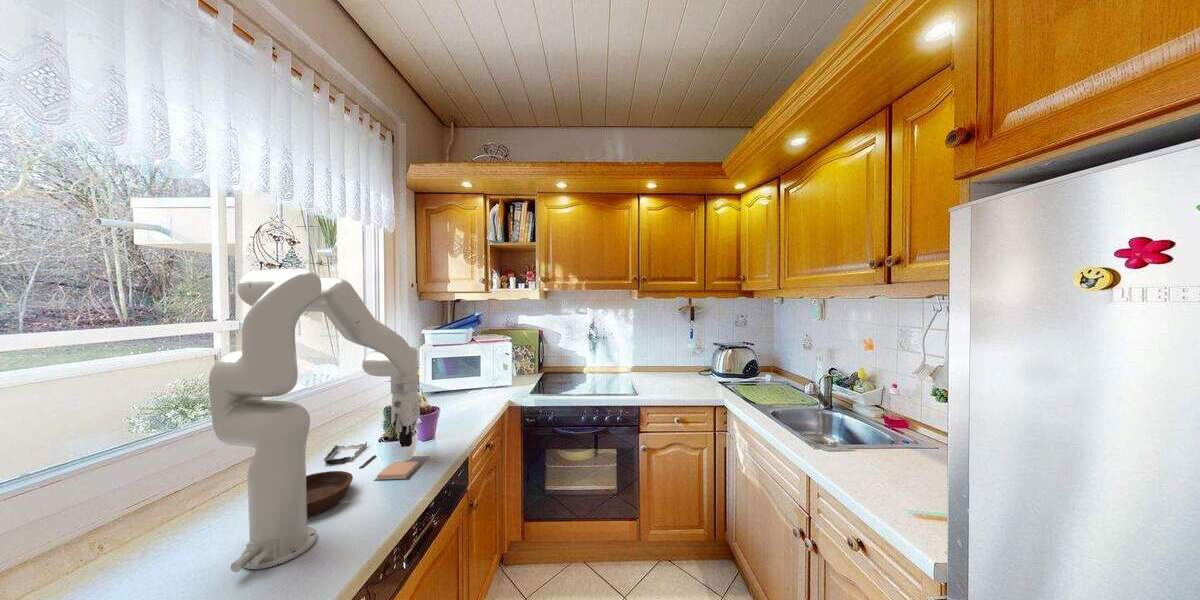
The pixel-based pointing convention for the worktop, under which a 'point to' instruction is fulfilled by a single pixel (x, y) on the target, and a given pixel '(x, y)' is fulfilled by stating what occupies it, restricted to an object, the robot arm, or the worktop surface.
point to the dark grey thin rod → (368, 461)
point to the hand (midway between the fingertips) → (405, 445)
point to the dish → (326, 490)
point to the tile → (398, 470)
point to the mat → (414, 459)
